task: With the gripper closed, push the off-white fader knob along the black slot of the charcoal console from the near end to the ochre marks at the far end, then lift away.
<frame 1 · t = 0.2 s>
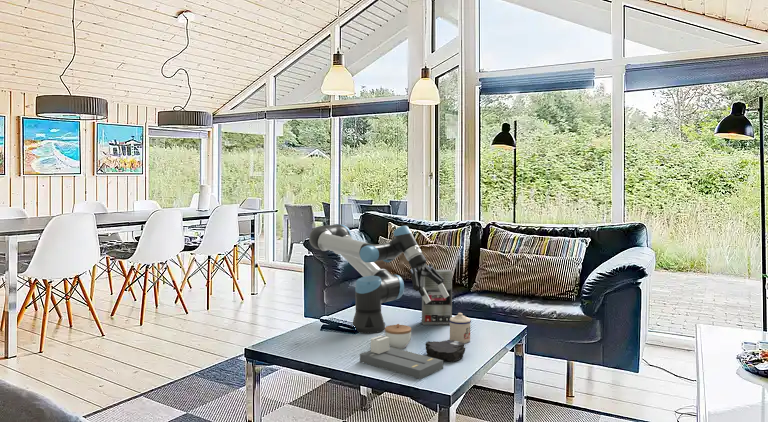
hand: (437, 299, 251), 15 cm above the table, tool tilted 35°, fingers open, 13 cm apart
fader knob: (380, 344, 218), point 6 cm above the table, slide at 0.0 cm
cassette tape recorder: (436, 323, 271), on the table
fader console: (400, 365, 212), on the table
teacup with lid: (460, 340, 245), on the table
lidded jar: (398, 347, 235), on the table
rock sample: (445, 356, 223), on the table
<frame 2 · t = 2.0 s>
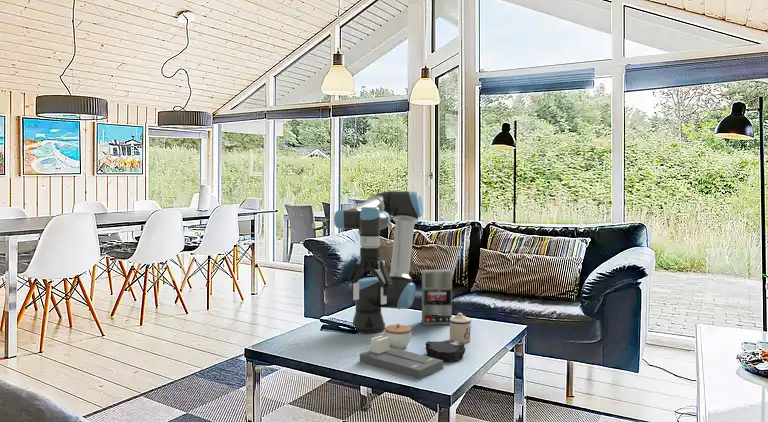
hand: (369, 301, 223), 21 cm above the table, tool pointing down, fingers open, 13 cm apart
nothing on the table moved.
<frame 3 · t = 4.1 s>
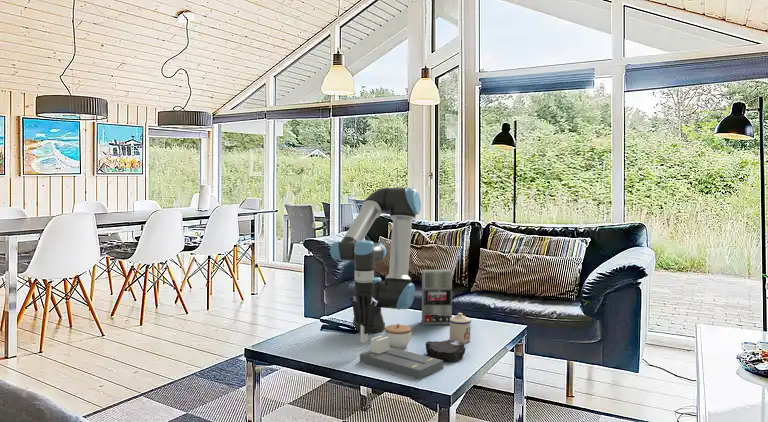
hand: (364, 341, 223), 6 cm above the table, tool pointing down, fingers closed
nothing on the table moved.
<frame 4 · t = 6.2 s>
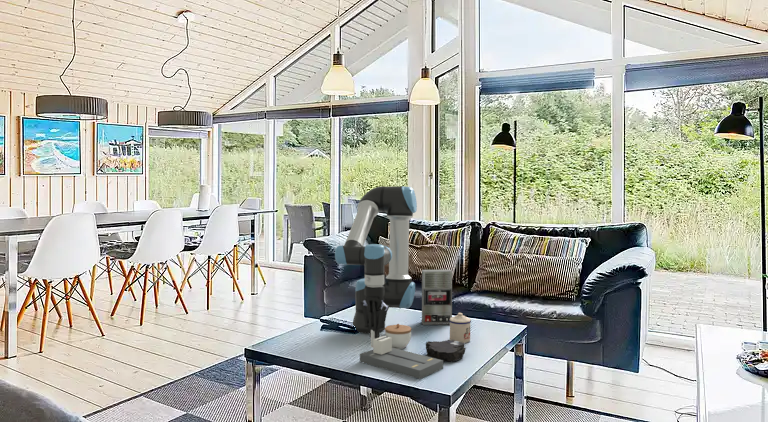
hand: (374, 346, 220), 5 cm above the table, tool pointing down, fingers closed
fader knob: (382, 344, 217), point 6 cm above the table, slide at 1.3 cm, touching gripper
everything else where it was.
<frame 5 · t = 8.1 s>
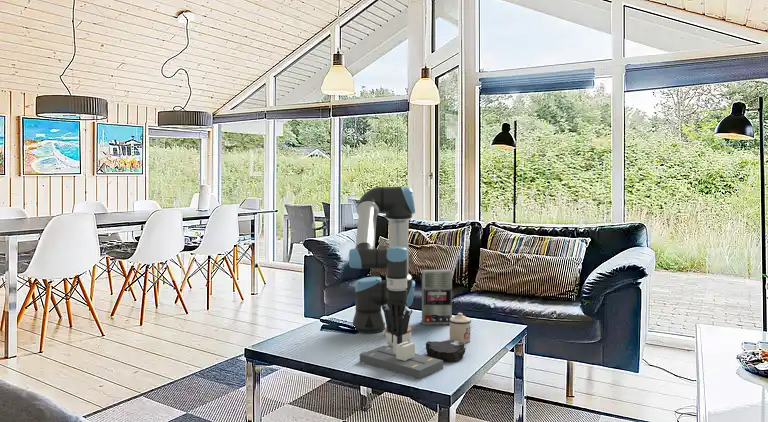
hand: (396, 352, 213), 5 cm above the table, tool pointing down, fingers closed
fader knob: (405, 350, 210), point 6 cm above the table, slide at 12.2 cm, touching gripper
everything else where it was.
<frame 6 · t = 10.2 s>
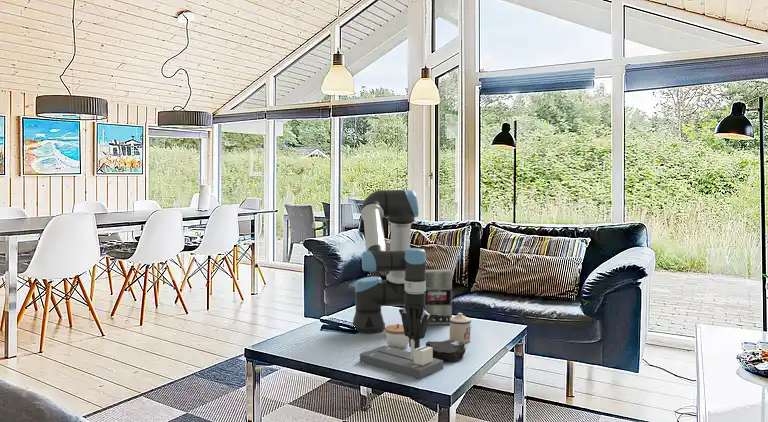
hand: (414, 356, 208), 5 cm above the table, tool pointing down, fingers closed
fader knob: (423, 355, 205), point 6 cm above the table, slide at 20.2 cm, touching gripper
everything else where it was.
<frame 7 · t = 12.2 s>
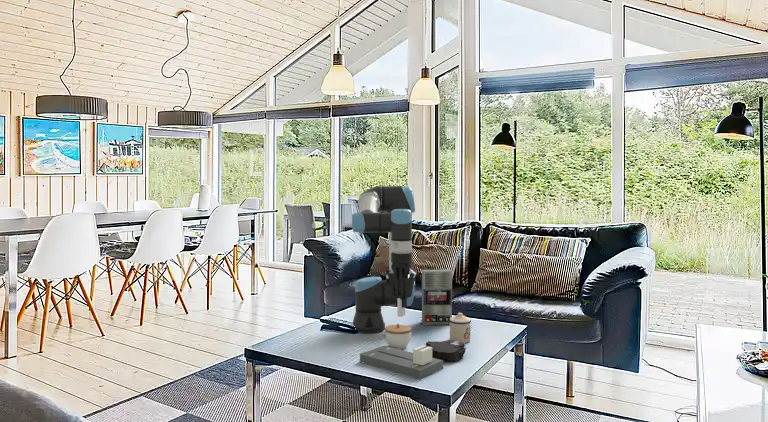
hand: (401, 315, 211), 18 cm above the table, tool pointing down, fingers closed
fader knob: (422, 355, 205), point 6 cm above the table, slide at 20.0 cm
everything else where it was.
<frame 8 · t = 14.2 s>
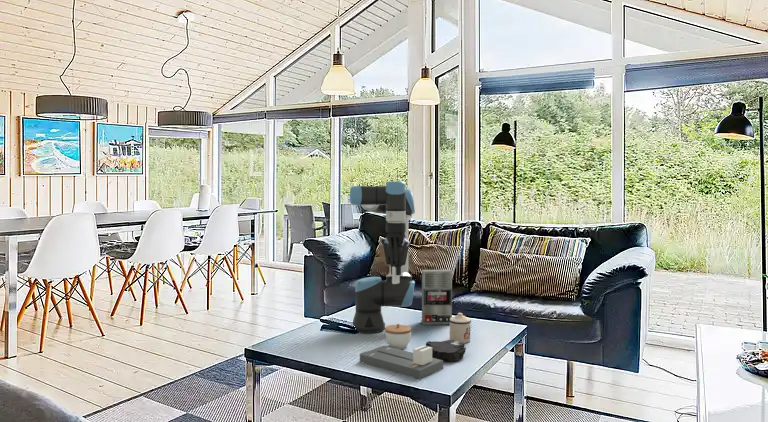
hand: (395, 283, 221), 28 cm above the table, tool pointing down, fingers closed
nothing on the table moved.
at the end: fader knob slide at 20.0 cm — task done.
